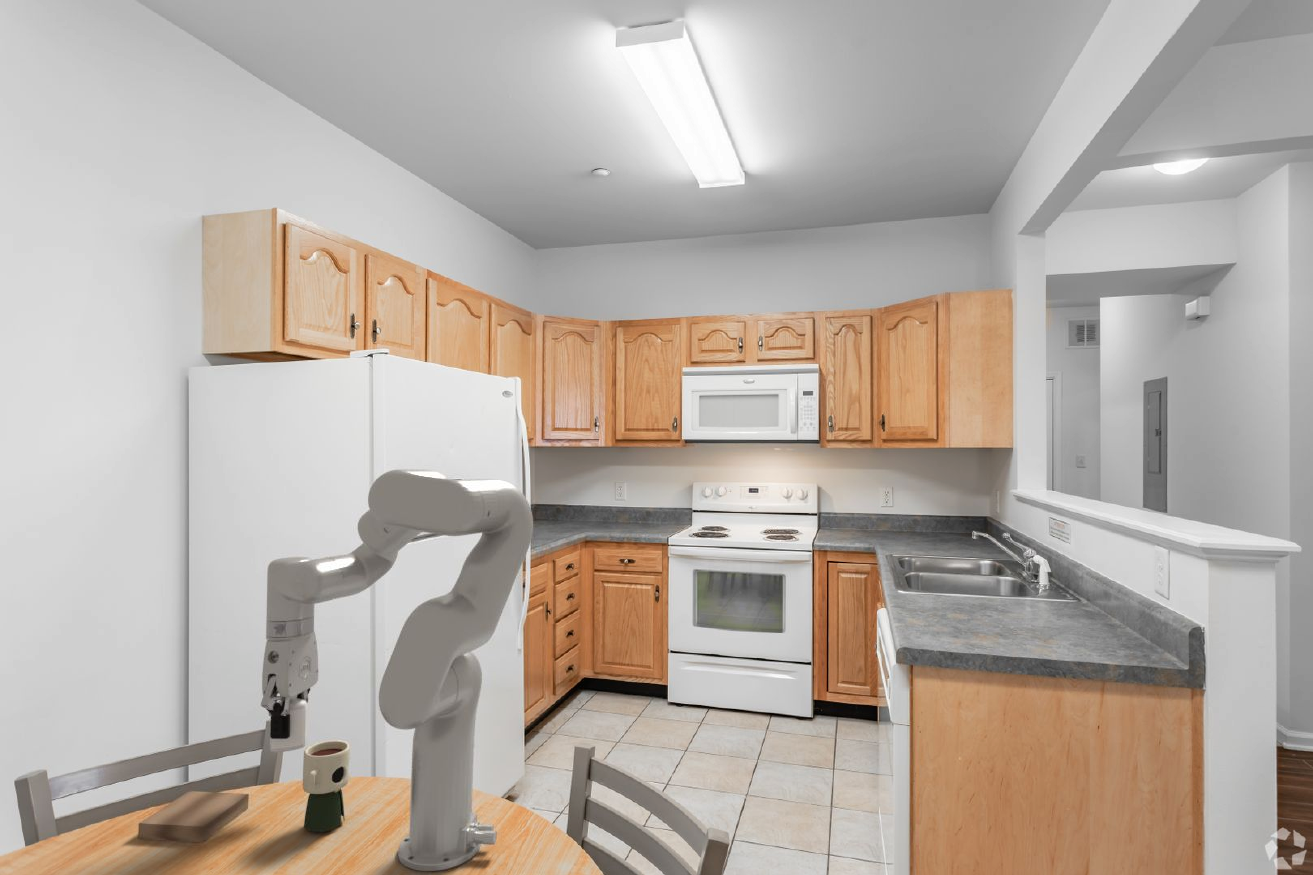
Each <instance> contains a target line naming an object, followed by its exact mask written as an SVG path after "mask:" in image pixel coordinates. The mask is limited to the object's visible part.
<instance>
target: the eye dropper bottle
mask: <svg viewBox="0 0 1313 875" xmlns="http://www.w3.org/2000/svg"><path fill="white" fill-rule="evenodd" d="M282 701H283V700H278V701H277V703H279V704H280V705H281V706H282ZM287 714H290V737H289V738H287V739H272V738H271V737H270V736H269V751H270V752H272V753H282V752H283V753H284V752H291V751H295V750H299V749H303V748H304V747H305V746H306V744H307V733H308V732H307V731H308V730H307V729H308V728H307V727H308V703H307V702H306V701H305V700H303V699H299V698H297V695H296V696H294V697H292V698H290V699H289V707H288V713H287ZM269 724H270V725H271V721H270V723H269Z"/></svg>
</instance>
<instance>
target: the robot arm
mask: <svg viewBox="0 0 1313 875" xmlns="http://www.w3.org/2000/svg"><path fill="white" fill-rule="evenodd" d="M367 501H368V503H367V504H368V508H369V510H367V511H366V512H365V513H364V514H362V516H360V518H359V519H358V522H357V533H358V536H359V538H360V540H361V542H362V543H361V544H360V545H359V546H358V547H357V548H356V549H354V550H353V551H351V552H349V553H348V554H340V555H335V556H327V557H322V558H315V559H312V558H310V557H307V556H306V557H304V556H294V557H293V556H291V557H290V556H289V557H281V558H277V559H273V560H272V561H271V562H270V563H269V564H268V566H267V570H266V571H267V573H266V575H267V576H266V579H267V580H266V582H267V583H266V616H265V617H266V623H265V624H266V625H265V629H266V630H265V639H266V643H265V649H264V652H263V653H264V654H263V661H262V662H263V663H262V672H261V674H262V675H261V692H262V700H261V702H260V706H261V708H262V707H263V708H264V709H265V710H267V712H268V716H269V717H270V722H271V725H270V727H269V728H270V729H269V730H270V732H269V734H270V735H269V738H270V737H271V738H272V739H287V738H289V737H290V714H287V713H288V707H289V699H290V698H292V697H294V696H296V695H297V698H299V699H303V700H305V701H306V702H307V704H308V703H309V693H310V692H311V688H312V687H314V686H315V685H316V684H317V683H318V681H319V657H318V656H319V655H318V644H317V638H316V632H315V604H320V603H325V602H329V601H333V600H336V599H340V598H346V597H350V596H354V595H357V594H360V593H362V592H364V591H365V590H367V589H369V588H370V587H371V586H373V585H374V584H375V583H377V582H378V581H379V580H380V579H381V578H382V577H384V576H385V575H386V574H387V573H388V572H389V571H390V570H391V568H392V567H394V564H395V562H396V560H397V558H398V555H399V551H400V550H402V549H403V548H404V547H405V546H406V545H408V544H409V543H410V542H411V541H413V540H414V539H415V538H416V537H417V536H419V535H420V534H421V533H427V534H428V533H429V534H433V535H439V536H447V537H460V536H468V535H475V534H481V536H480V538H479V540H478V542H477V543H476V544H475V545H474V547H473V548H472V549H471V550H470V552H469V553H468V555H467V556H466V559H465V560H464V562H463V564H462V567H461V570H460V573H459V575H458V577H457V580H456V582H455V584H454V586H453V587H452V589H451V590H450V591H449V592H447V593H446V594H443V595H441V596H438V597H437V596H436V597H433V598H431V599H428V600H426V601H424V602H422V603H421V604H419V605H418V606H417V607H415V609H414V610H413V611H412V612H410V614H409V615H408V617H407V619H406V620H405V621H404V623H403V626H402V627H401V631H400V633H399V635H398V638H397V640H396V643H395V645H394V647H393V649H392V650H393V651H392V653H391V655H390V658H389V661H388V663H387V666H386V668H385V670H384V674H383V676H382V678H381V682H380V686H379V690H378V705H379V710H380V713H381V715H382V718H383V719H384V721H385V722H387V724H388V725H389V726H391V727H393V728H395V729H397V730H398V729H399V730H406V731H407V730H413V729H414V732H413V738H412V750H411V751H412V754H411V780H410V802H409V803H410V806H409V808H410V809H409V810H410V811H409V829H408V830H409V831H408V834H407V835H406V836H405V837H404V838H403V839H402V840H401V841H400V843H399V844H398V847H397V848H398V849H397V850H398V851H397V852H398V853H397V856H398V859H399V861H400V863H401V864H402V865H403V866H405V867H407V868H409V869H411V870H415V871H419V872H436V871H437V872H438V871H443V870H449V869H452V868H455V867H457V866H460V865H461V864H464V863H465V862H467V861H469V860H471V858H473V857H474V856H475V855H476V854H477V853H478V851H479V850H480V848H481V845H487V846H488V845H490V846H495V845H496V842H497V836H498V832H497V830H494V828H495V827H494V824H492V823H491V824H490V823H484V824H483V823H480V822H479V821H478V812H473V786H474V785H473V783H474V756H475V755H474V754H475V752H474V751H475V749H474V748H475V736H476V735H475V734H476V733H475V731H476V719H477V710H478V704H479V700H480V696H481V692H482V691H481V690H482V682H483V678H482V677H483V672H482V667H481V664H480V661H479V659H478V657H477V656H476V655H475V654H474V653H473V651H475V650H477V649H479V648H481V647H482V646H484V645H485V644H487V643H488V642H489V641H490V640H491V639H492V637H493V635H494V633H495V631H496V628H497V627H498V623H499V621H500V618H501V616H502V613H503V612H504V609H505V606H506V604H507V601H508V599H509V596H510V594H511V592H512V589H513V586H514V583H515V581H516V579H517V575H518V574H519V572H520V569H521V567H522V565H523V562H524V560H525V559H526V555H527V553H528V551H529V549H530V548H529V547H530V545H531V542H532V538H533V532H534V518H533V513H532V509H531V506H530V504H529V501H528V500H527V498H526V496H525V495H524V493H523V492H522V491H521V490H520V489H519V488H518V487H516V485H514V484H512V483H510V482H508V481H505V480H501V479H495V478H494V479H491V478H478V479H452V478H448V477H446V476H445V475H444V474H442V473H440V472H438V471H436V470H432V469H392V470H388V471H387V472H384V473H383V474H381V475H380V476H379V477H377V478H376V479H375V481H373V483H372V484H371V487H370V488H369V492H368V494H367ZM278 694H279V695H278ZM281 700H283V701H282V706H281V705H280V704H279V703H277V702H278V701H281Z"/></svg>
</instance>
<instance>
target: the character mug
mask: <svg viewBox="0 0 1313 875" xmlns="http://www.w3.org/2000/svg"><path fill="white" fill-rule="evenodd" d="M350 760H351V745H350V744H349V742H347V741H345V740H340V739H339V740H335V739H334V740H326V741H321V742H320V741H319V742H317V743H314V744H312V745H310V746H308V747H306V748H305V750H304V751H303V766H302V767H303V768H302V790H303V791H304V793H307V794H309V795H308V798H307V803H306V807H305V808H306V809H305V814H304V820H303V822H304V823H303V828H304V829H305V830H307V831H313V832H322V833H323V832H329V831H332V830H334V829H336V828H338V827H340V826H341V825H342V818H343V822H345V821H346V820H345V808H344V807H345V805H344V797H343V790H342V788H345V787H346V786H347V785H348V783H349V779H350V773H349V766H350Z"/></svg>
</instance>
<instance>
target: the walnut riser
mask: <svg viewBox="0 0 1313 875" xmlns="http://www.w3.org/2000/svg"><path fill="white" fill-rule="evenodd" d="M249 796H250V794H249V793H234V792H214V791H195V790H190V791H187V792H186V793H184V794H182V795H181V796H180V797H178V798H177V799H174V800H173V801H171V802H170V803H169V804H167V805H165V806H164V807H162V808H161V809H159V810H158V811H155V812H154V813H152V814H151V815H149V816H148V817H146V818H145V819H143V820H141V821H140V822H139V823H138V828H137V829H138V831H137V836H138V837H137V839H138V840H150V841H167V842H169V841H170V842H187V843H205V841H207V840H208V839H210V838H211V837H212V836H213V835H215V834H216V833H217V832H219V831H220V830H221V829H223V828H224V827H225V826H227V825H228V824H229V823H231V822H232V821H233V820H235V819H236V818H237V817H239V816H240V815H241V814H242V813H244V812H245V811H246V810H248V809H249Z"/></svg>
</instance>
